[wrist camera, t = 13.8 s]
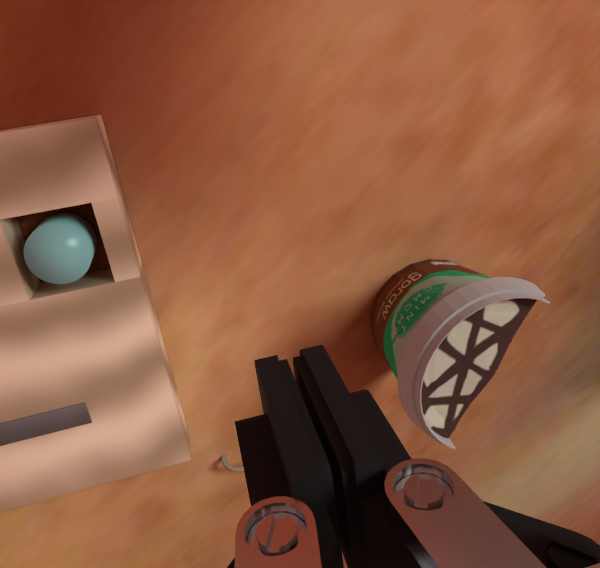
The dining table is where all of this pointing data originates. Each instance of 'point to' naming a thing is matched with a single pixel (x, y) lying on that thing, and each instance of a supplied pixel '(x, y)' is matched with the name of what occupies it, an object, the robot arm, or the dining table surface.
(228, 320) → the dining table surface
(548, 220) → the dining table surface
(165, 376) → the control panel
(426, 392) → the food container
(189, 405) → the dining table surface
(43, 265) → the teal button
